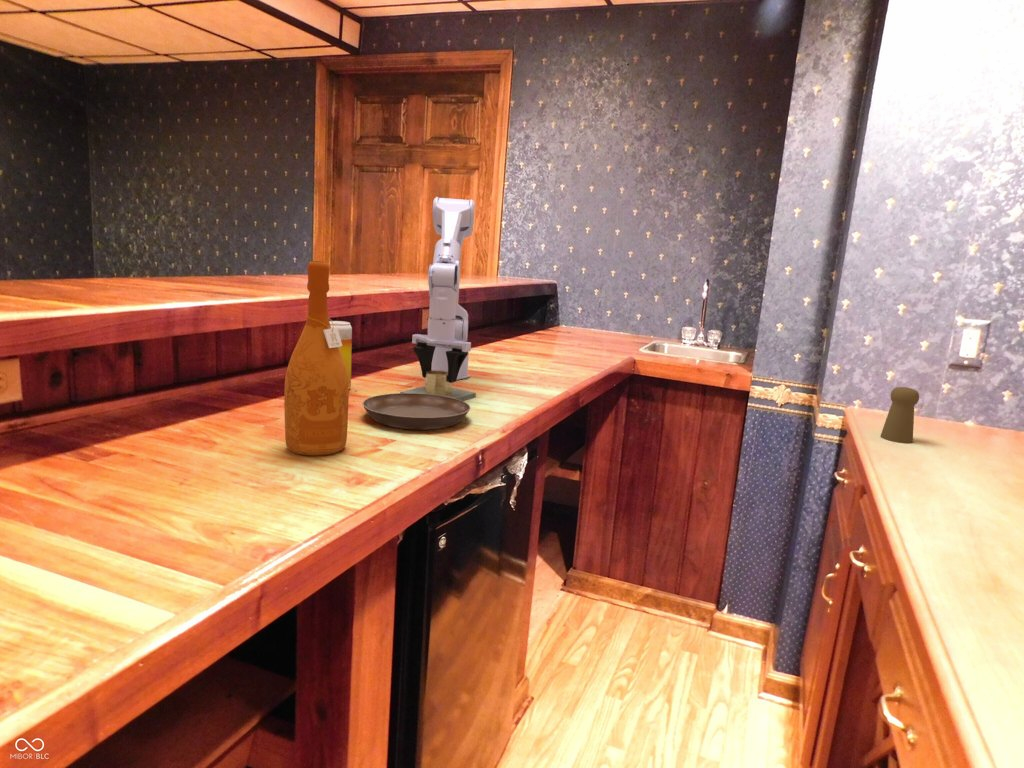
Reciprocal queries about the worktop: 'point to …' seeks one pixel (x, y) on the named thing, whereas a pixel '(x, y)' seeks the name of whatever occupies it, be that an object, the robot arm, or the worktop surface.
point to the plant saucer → (416, 410)
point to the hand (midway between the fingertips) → (439, 379)
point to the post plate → (455, 394)
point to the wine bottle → (317, 378)
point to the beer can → (345, 343)
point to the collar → (437, 383)
